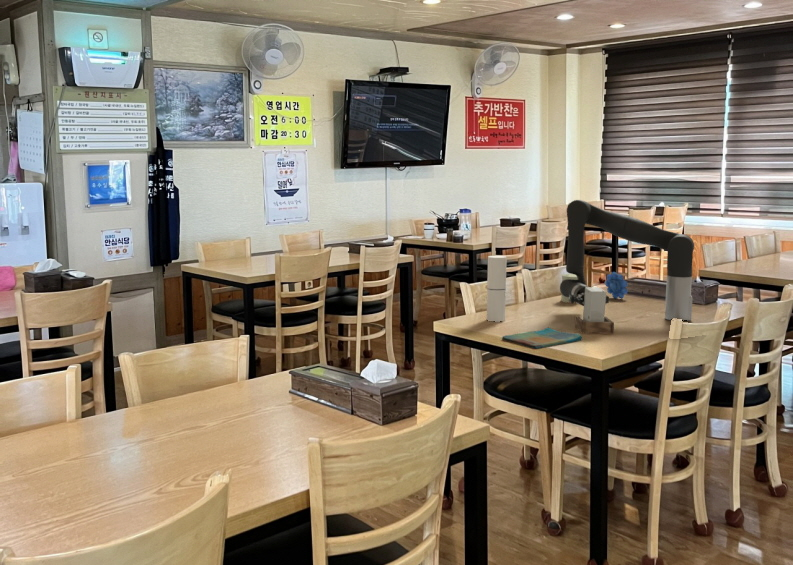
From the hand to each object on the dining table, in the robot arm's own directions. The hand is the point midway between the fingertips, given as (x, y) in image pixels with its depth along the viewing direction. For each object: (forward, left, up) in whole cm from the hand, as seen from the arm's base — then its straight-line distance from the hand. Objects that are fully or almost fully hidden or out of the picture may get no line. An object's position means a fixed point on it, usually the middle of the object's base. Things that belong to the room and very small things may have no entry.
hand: (593, 302), depth 294 cm
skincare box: (0, +3, -10) cm, 10 cm away
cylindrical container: (+34, -14, -10) cm, 38 cm away
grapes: (-26, -65, -10) cm, 71 cm away
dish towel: (+22, +20, -11) cm, 31 cm away
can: (-5, -58, -10) cm, 59 cm away
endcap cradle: (0, +3, -10) cm, 10 cm away
